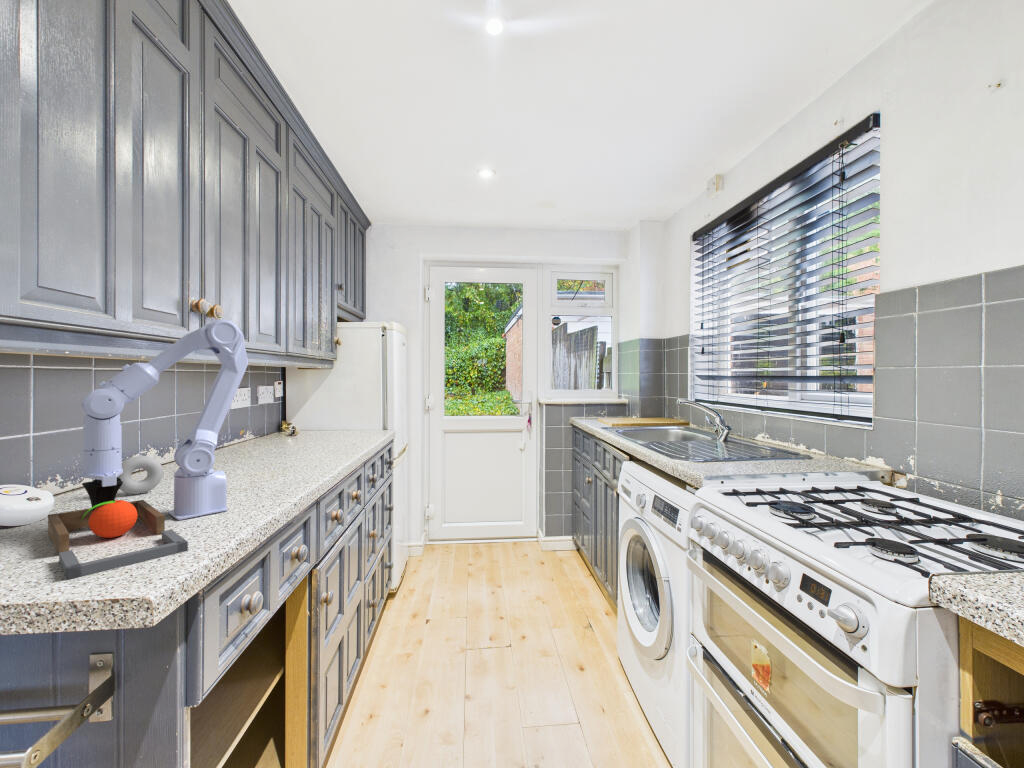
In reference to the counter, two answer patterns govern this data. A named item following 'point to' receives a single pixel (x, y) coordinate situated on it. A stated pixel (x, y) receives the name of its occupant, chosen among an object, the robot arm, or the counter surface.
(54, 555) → the counter surface
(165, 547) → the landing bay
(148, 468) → the donut
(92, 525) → the clementine
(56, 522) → the brown wooden frame
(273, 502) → the counter surface
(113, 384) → the robot arm
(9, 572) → the counter surface
